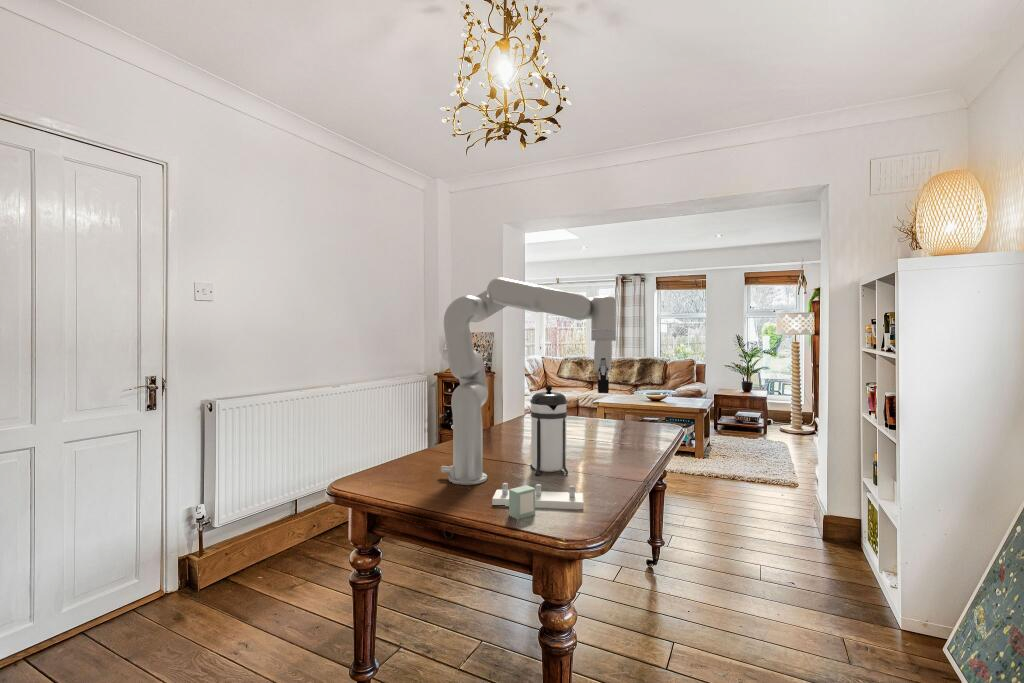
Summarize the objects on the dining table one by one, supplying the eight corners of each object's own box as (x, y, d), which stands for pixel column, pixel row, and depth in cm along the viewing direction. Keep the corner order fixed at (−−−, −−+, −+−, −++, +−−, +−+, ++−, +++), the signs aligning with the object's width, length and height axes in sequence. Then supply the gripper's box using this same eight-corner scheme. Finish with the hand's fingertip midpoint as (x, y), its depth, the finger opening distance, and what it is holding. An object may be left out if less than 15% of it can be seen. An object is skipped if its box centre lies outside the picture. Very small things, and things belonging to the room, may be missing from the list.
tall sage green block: (517, 519, 129) (517, 492, 128) (509, 515, 131) (509, 489, 131) (535, 514, 132) (535, 488, 132) (526, 510, 135) (526, 485, 135)
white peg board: (492, 505, 139) (492, 487, 139) (496, 496, 147) (496, 479, 147) (583, 509, 136) (583, 491, 136) (582, 499, 144) (582, 482, 144)
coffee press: (580, 470, 174) (580, 384, 174) (552, 480, 162) (553, 388, 162) (541, 461, 186) (541, 381, 185) (513, 470, 174) (513, 384, 173)
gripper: (592, 335, 164) (592, 387, 164) (590, 336, 147) (590, 394, 147) (615, 335, 163) (615, 388, 163) (616, 336, 146) (616, 394, 146)
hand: (603, 391), depth 155 cm, fingers open, 9 cm apart
